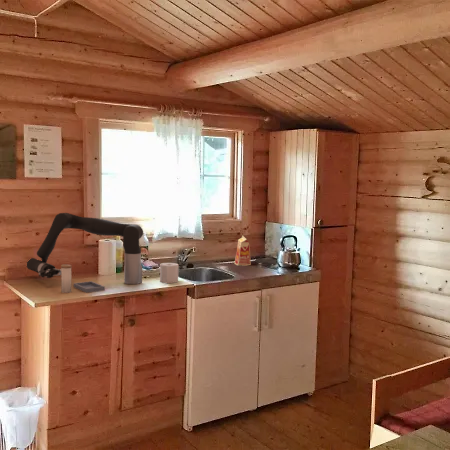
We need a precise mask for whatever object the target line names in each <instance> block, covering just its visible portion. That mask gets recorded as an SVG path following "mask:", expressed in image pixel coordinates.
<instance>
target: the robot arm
mask: <svg viewBox="0 0 450 450" xmlns="http://www.w3.org/2000/svg"><path fill="white" fill-rule="evenodd" d="M65 229H74V230H75V229H76V230H81V231H84V232H86V233H89V234H92V235H97V236H107V237H108V236H109V237H110V236H116V237H117V236H118V237H123V238H122V240H123V241H122V242H123V250H124V266H123V267H124V271H123V272H124V277H123V278H124V279H123V280H124V281H123V282H124V284H126V285H138V284H141V283H143V266H142V247H140V246H141V245H140V239H141V238H142V237H143V235H144V230H143V228H142V226H140V225H138V224H135V223H122V222H121V223H120V222H117V221H112V220H108V219H103V218H97V217H89V216H88V217H87V216H86V217H85V216H79V215H76V214H72V213H70V212H60V213H57V214H56V215H55V217H54V218H53V220H52V223H51V225H50V228H49V230H48V232H47V235H46V237H45V239H44V240H43V242H42V243H41V245H40V246H39V248H38V250H37V252H36V255H37V257H39V258H40V259H38V260H37V258H35V257H31V259H30V258H29V259H30V260H29V259H28V260H29V261H28V260H27V261H28V262H27V261H26V263H27V266H26V268H27V269H28V270H30V271H33V272H35V273H37V274H38V276H39V277H42V278H44V277H45V278H46V279H51V278H53V277H55V276H60V277H61V268H56V267H55V265H53V264H52V263H49V262H48V260H49V257H50V255H51V253H52V252H53V251H54V248H55V247H56V243H57V241H58V238H59V236H60V234H61V233H62V232H63V231H64V230H65ZM41 260H42V261H41Z"/></svg>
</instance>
